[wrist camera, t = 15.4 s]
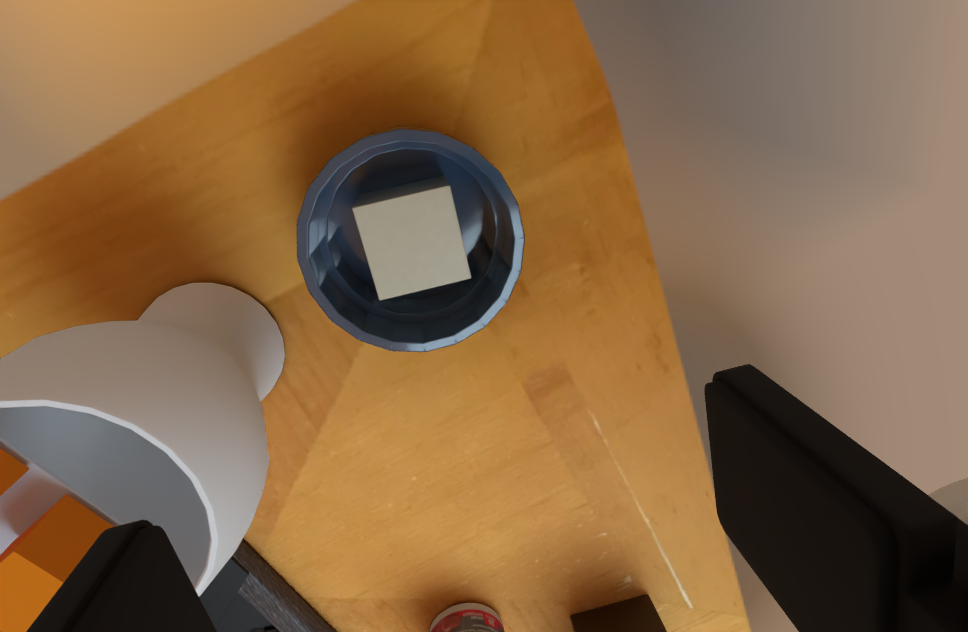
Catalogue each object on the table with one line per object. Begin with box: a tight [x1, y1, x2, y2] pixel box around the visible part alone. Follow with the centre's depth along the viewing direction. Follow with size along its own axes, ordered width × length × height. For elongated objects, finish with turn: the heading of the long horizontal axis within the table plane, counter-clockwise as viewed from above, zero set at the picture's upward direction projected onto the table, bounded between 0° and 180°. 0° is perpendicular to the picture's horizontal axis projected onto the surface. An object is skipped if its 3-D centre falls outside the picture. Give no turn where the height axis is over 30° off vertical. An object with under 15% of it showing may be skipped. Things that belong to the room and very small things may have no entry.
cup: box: [0, 283, 285, 596], centre depth 25 cm, size 11×11×15 cm
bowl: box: [297, 126, 525, 352], centre depth 28 cm, size 10×10×6 cm
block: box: [352, 175, 471, 301], centre depth 29 cm, size 4×4×4 cm
